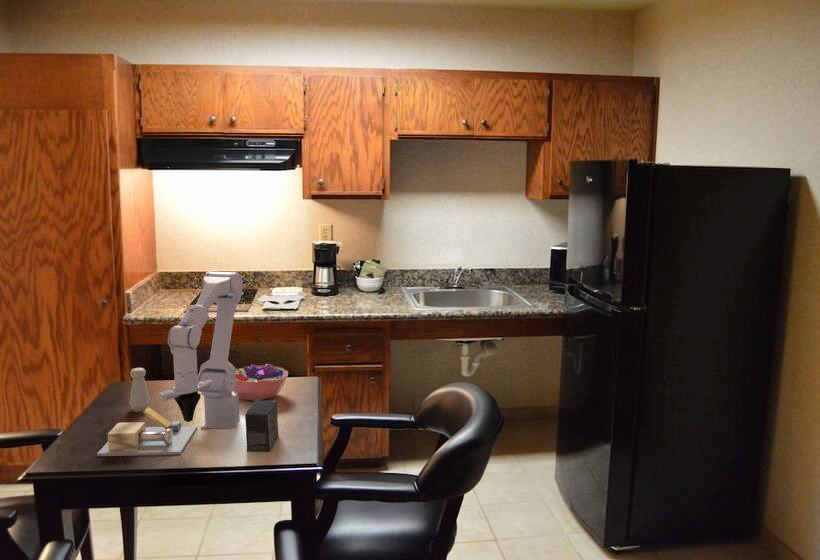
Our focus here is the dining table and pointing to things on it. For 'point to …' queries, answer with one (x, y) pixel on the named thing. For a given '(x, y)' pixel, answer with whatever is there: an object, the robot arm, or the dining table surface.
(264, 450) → the small box
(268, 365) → the cell model
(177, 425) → the block
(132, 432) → the block
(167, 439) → the pin
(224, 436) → the dining table surface
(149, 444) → the board
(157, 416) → the tab
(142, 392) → the salt shaker
